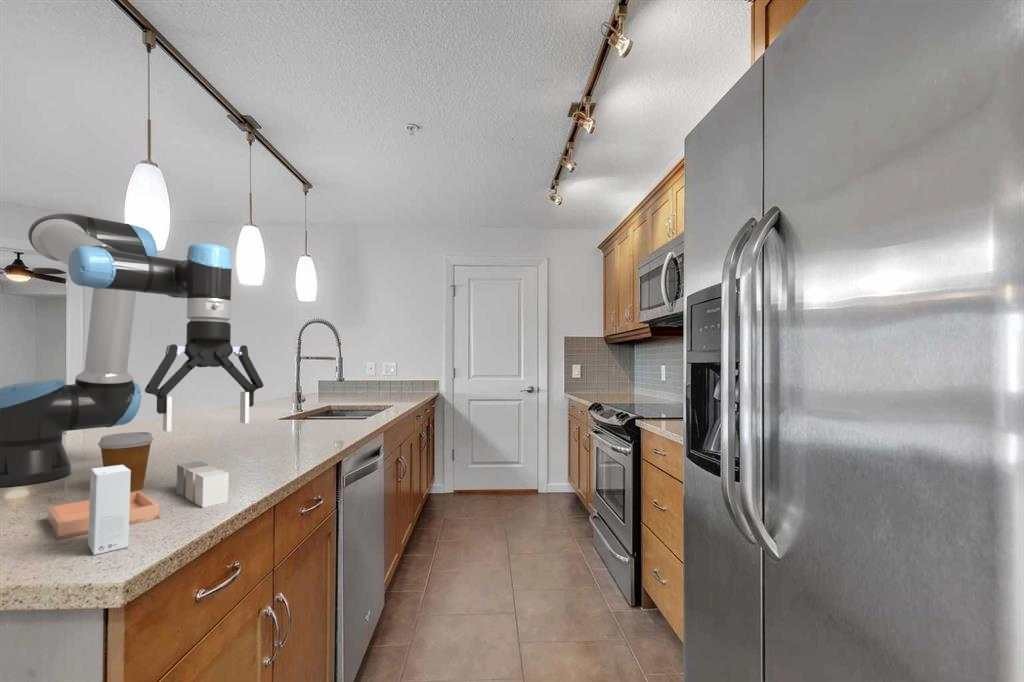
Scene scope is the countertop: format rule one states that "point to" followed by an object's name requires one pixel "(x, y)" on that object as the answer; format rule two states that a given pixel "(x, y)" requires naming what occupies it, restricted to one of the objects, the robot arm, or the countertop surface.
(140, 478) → the disposable coffee cup
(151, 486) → the countertop surface
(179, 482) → the grey rectangular block
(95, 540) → the skincare box
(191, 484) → the beige rectangular block
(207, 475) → the white block
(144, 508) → the dish
